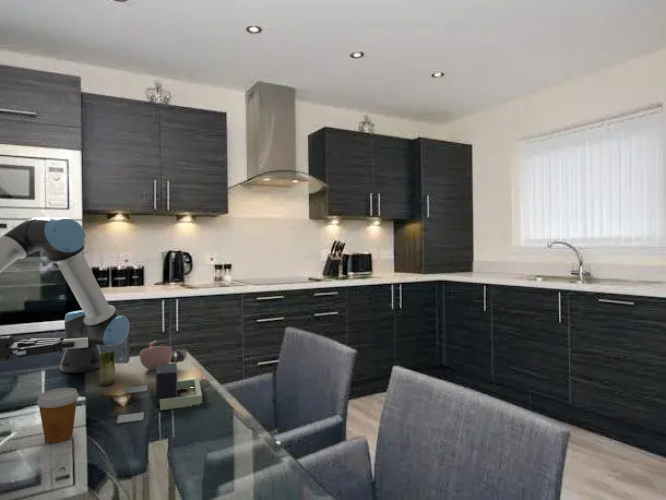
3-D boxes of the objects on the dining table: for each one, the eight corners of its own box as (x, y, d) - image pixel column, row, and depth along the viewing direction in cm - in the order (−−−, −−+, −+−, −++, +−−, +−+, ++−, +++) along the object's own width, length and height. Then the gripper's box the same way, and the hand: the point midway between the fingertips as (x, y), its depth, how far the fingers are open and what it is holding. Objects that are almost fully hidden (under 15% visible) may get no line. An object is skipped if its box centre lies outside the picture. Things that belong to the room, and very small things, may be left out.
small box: (177, 403, 141) (177, 371, 141) (155, 406, 139) (155, 373, 139) (177, 392, 151) (177, 362, 151) (157, 394, 149) (157, 363, 149)
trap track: (125, 388, 154) (125, 380, 154) (197, 380, 162) (197, 372, 162) (116, 424, 126) (116, 413, 126) (203, 412, 134) (203, 402, 134)
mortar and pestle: (169, 363, 183) (168, 336, 183) (175, 371, 173) (175, 342, 173) (137, 368, 177) (137, 339, 176) (142, 376, 167) (142, 346, 166)
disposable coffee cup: (87, 432, 120) (87, 389, 120) (55, 449, 111) (54, 402, 111) (61, 427, 123) (61, 385, 123) (28, 442, 114) (27, 397, 114)
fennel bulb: (113, 380, 162) (113, 348, 161) (118, 384, 158) (118, 351, 158) (96, 384, 158) (96, 351, 157) (101, 388, 154) (100, 354, 154)
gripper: (3, 356, 133) (91, 348, 142) (-13, 369, 121) (84, 360, 130) (2, 332, 133) (90, 325, 141) (-15, 343, 121) (83, 335, 129)
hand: (87, 342), depth 135 cm, fingers closed
